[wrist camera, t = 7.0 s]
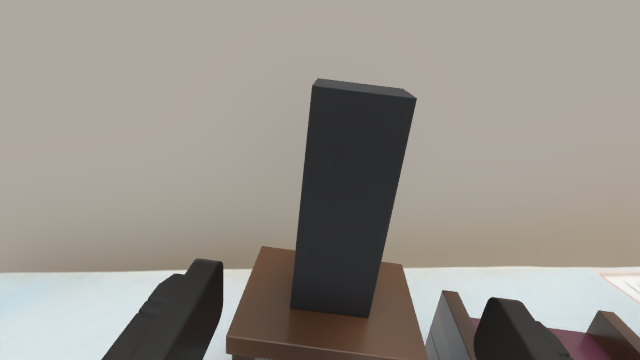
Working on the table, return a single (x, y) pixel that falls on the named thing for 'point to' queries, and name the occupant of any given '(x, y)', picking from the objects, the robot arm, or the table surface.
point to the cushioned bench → (463, 332)
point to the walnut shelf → (321, 319)
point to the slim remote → (348, 193)
